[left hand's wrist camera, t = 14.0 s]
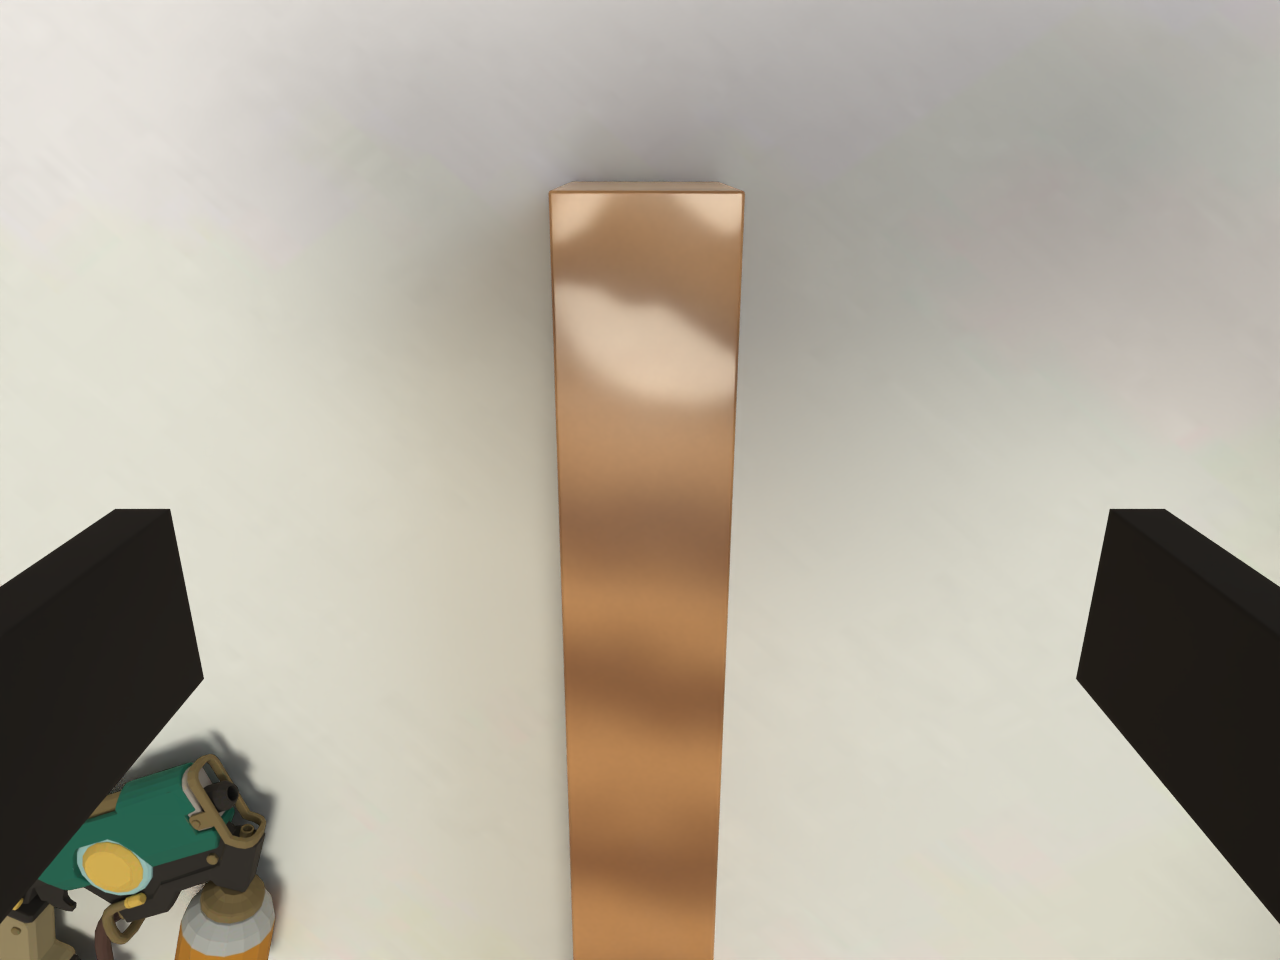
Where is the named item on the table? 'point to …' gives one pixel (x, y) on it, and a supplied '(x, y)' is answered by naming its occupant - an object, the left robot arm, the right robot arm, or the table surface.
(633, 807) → the beam
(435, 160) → the table surface
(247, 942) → the spray gun
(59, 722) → the left robot arm
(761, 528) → the table surface
